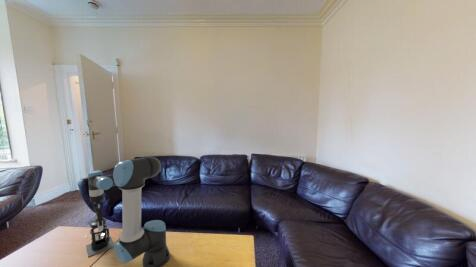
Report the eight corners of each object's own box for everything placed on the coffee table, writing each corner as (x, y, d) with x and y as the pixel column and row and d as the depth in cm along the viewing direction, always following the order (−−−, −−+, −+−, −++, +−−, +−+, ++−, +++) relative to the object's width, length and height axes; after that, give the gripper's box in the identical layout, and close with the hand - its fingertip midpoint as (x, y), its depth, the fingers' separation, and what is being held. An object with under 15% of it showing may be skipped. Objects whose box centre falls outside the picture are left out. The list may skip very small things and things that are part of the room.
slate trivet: (114, 246, 126) (114, 245, 126) (88, 257, 116) (88, 256, 116) (110, 237, 136) (110, 236, 136) (86, 246, 126) (86, 245, 126)
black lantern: (86, 250, 121) (83, 216, 120) (97, 241, 131) (95, 209, 129) (103, 250, 121) (101, 216, 119) (114, 241, 130) (112, 209, 128)
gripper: (107, 198, 117) (109, 231, 118) (101, 188, 135) (103, 217, 136) (91, 202, 111) (94, 236, 113) (87, 191, 130) (90, 220, 131)
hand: (99, 225), depth 125 cm, fingers open, 13 cm apart
